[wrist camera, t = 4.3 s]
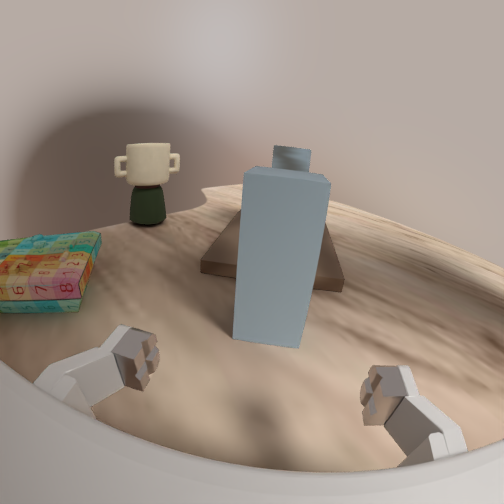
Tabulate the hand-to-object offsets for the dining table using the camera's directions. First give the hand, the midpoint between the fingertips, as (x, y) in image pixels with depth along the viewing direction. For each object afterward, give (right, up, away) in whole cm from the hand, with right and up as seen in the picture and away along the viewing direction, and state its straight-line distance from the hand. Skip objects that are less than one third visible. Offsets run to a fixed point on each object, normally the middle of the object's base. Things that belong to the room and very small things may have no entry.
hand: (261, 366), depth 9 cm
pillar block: (+1, -2, +13) cm, 13 cm away
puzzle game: (-25, 0, +12) cm, 28 cm away
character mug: (-18, +9, +34) cm, 40 cm away
